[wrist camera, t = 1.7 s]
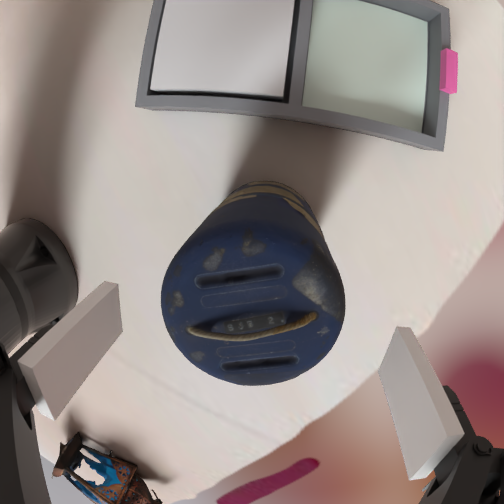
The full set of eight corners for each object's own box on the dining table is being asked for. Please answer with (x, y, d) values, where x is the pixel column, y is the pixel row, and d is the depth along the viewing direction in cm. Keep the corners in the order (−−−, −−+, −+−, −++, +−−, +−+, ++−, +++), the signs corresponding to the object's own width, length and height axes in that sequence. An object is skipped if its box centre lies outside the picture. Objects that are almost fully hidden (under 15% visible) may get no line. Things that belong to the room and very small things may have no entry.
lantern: (82, 419, 56) (173, 474, 57) (55, 466, 48) (144, 519, 49) (64, 429, 42) (180, 497, 43) (34, 484, 34) (145, 549, 35)
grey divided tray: (152, 110, 27) (128, 105, 22) (175, -17, 22) (158, -38, 17) (425, 149, 26) (450, 152, 21) (433, 20, 21) (455, 5, 16)
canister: (219, 175, 29) (135, 221, 12) (320, 183, 28) (374, 241, 11) (217, 268, 32) (155, 393, 15) (309, 277, 31) (329, 413, 15)
